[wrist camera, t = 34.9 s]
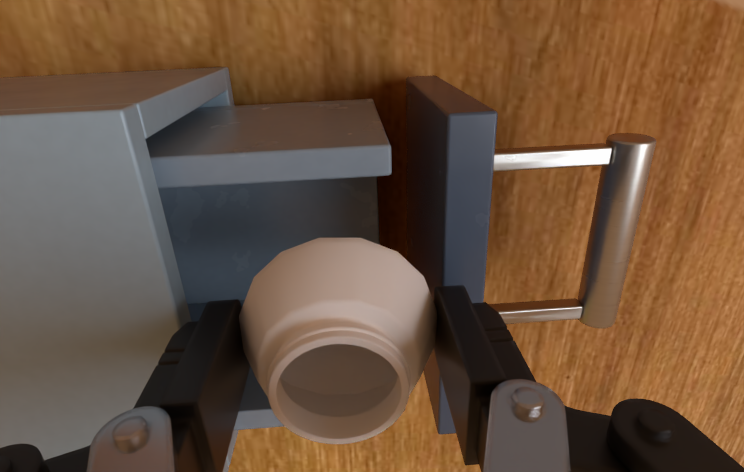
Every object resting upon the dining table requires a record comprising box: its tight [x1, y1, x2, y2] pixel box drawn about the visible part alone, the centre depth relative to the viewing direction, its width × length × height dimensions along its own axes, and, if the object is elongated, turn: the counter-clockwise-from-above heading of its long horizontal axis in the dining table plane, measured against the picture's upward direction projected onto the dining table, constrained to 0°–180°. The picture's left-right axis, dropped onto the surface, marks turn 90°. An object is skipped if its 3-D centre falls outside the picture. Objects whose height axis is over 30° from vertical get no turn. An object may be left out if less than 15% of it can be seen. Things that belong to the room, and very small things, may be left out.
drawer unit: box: [0, 67, 238, 472], centre depth 16 cm, size 14×12×10 cm
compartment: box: [145, 76, 656, 434], centre depth 16 cm, size 19×10×8 cm, turn 92°
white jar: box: [239, 238, 437, 444], centre depth 11 cm, size 5×3×5 cm
